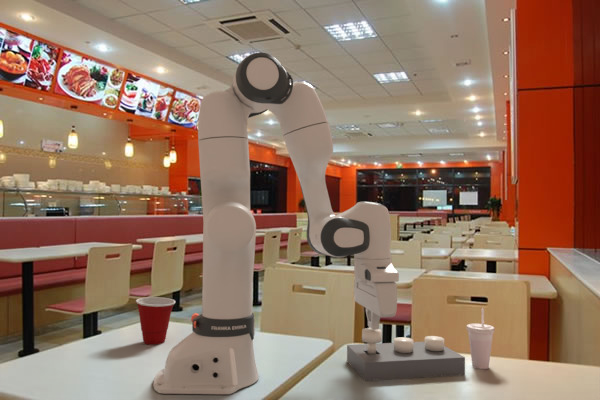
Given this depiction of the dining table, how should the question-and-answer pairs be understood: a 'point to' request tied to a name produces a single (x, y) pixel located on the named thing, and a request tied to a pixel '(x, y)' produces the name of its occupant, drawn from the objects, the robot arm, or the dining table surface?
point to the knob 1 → (371, 339)
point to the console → (404, 362)
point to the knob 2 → (434, 343)
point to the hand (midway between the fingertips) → (373, 328)
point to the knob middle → (403, 345)
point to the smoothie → (480, 343)
